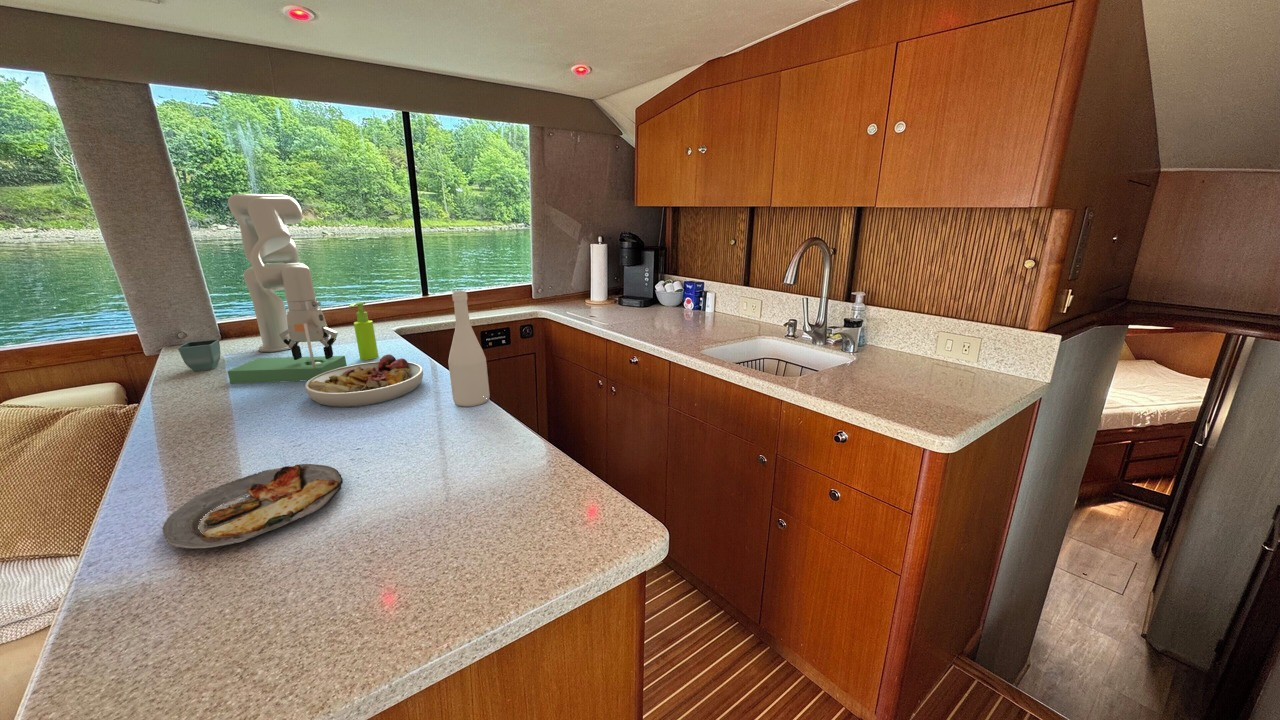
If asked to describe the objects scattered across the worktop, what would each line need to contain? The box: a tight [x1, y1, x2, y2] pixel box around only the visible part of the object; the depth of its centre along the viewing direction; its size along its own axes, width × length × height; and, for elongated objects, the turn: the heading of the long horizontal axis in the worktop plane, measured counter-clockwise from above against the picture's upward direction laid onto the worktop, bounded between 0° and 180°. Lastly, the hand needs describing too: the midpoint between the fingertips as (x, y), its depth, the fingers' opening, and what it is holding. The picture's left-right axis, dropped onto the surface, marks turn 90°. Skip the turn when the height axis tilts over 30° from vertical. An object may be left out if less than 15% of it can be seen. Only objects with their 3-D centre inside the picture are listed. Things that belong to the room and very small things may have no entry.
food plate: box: [161, 463, 344, 550], centre depth 86 cm, size 25×23×4 cm
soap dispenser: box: [348, 301, 379, 361], centre depth 175 cm, size 6×7×20 cm
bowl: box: [304, 354, 424, 408], centre depth 144 cm, size 30×30×8 cm
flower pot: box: [177, 339, 221, 372], centre depth 167 cm, size 9×9×9 cm
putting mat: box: [227, 324, 348, 384], centre depth 158 cm, size 14×28×18 cm, turn 93°
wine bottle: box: [447, 290, 491, 408], centre depth 131 cm, size 10×10×30 cm
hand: (313, 358), depth 159 cm, fingers open, 9 cm apart
